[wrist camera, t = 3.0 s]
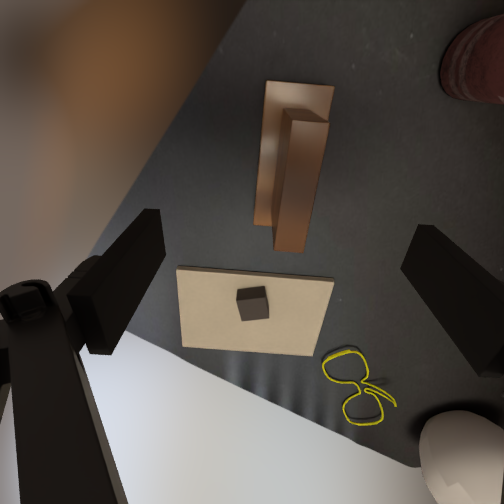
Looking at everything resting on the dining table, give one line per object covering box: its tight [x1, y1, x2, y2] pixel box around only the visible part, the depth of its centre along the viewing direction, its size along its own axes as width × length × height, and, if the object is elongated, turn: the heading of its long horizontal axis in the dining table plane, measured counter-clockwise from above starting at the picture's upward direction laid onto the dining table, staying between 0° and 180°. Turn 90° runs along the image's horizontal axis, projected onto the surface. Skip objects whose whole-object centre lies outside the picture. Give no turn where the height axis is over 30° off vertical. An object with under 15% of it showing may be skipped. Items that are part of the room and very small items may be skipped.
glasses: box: [322, 349, 397, 426], centre depth 51 cm, size 25×10×5 cm, turn 24°
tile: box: [176, 266, 334, 356], centre depth 43 cm, size 22×16×1 cm
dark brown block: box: [236, 286, 269, 321], centre depth 39 cm, size 4×4×2 cm
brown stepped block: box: [253, 80, 335, 253], centre depth 26 cm, size 14×6×12 cm, turn 176°
